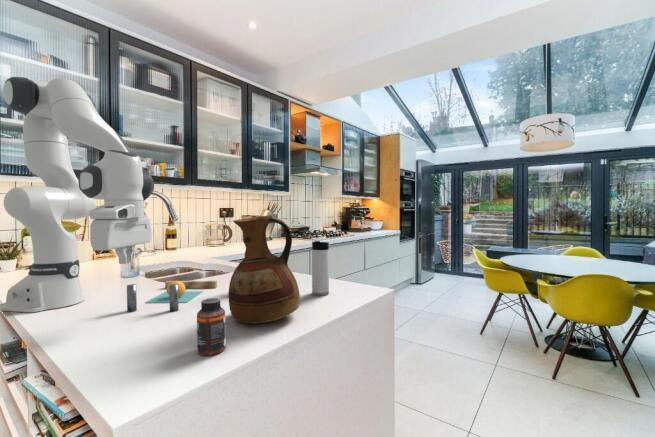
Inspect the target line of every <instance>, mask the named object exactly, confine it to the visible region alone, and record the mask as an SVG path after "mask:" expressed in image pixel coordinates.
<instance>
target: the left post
mask: <svg viewBox="0 0 655 437" xmlns="http://www.w3.org/2000/svg"><path fill="white" fill-rule="evenodd" d="M137 299H138V298H137V284H134V283H133V284H127V285H126V312H127V313H133V312H136V311H137V310H138V309H137V308H138V306H137Z"/></svg>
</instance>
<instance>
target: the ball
mask: <svg viewBox="0 0 655 437" xmlns="http://www.w3.org/2000/svg"><path fill="white" fill-rule="evenodd" d="M172 281H173V282H171V283H170V284H169V285H171V284H178V298H179V297H181V296H182V295H183V294H184V293H185V291H186V288H185V285H184V284H183V283H182V282H180V281H181V280H172ZM169 285H168V287H167V288H166V292H167V294H168V295H169Z"/></svg>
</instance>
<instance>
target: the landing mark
mask: <svg viewBox="0 0 655 437" xmlns="http://www.w3.org/2000/svg"><path fill="white" fill-rule="evenodd" d="M202 293H203V291H201V290H200V291H198V290H195V291H193V290H192V291H186V290H185V293H184V294H183V295H182V296H181V297H179V298H178V303H179V304H182V303H183V304H187V303H189V302H190V301H192V300H193V299H195V298H196V297H198V296H199V295H200V294H202ZM194 297H195V298H194ZM144 303H145V304H170V300H169V295H168V294H167V291H164V292H162V293H161V294H158V295H157V296H155V297H153V298H151V299H149V300H146V301H145V302H144Z"/></svg>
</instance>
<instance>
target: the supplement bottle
mask: <svg viewBox="0 0 655 437" xmlns="http://www.w3.org/2000/svg"><path fill="white" fill-rule="evenodd" d="M200 303H201V306H200V307H201V308H200V310H198V311H197V313H196V339H197V340H196V341H197V345H196V346H197V353H198V354H199V355H201V356H215V355H217V354H220V353H222V352H223V351H224V350H225V349H226V348H227V347H226V343H227V342H226V341H227V340H226V338H227V336H226V310H225V309H224V308H223V307H222V306H221V305H222V304H221V299H220V298H217V297H212V298H210V297H209V298H206V299H203V300H201V302H200Z"/></svg>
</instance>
